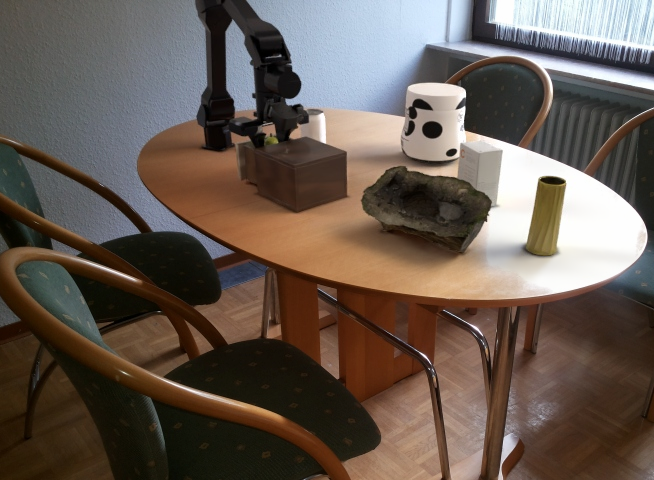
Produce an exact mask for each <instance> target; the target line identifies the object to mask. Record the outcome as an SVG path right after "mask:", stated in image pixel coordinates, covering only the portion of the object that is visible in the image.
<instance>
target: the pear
mask: <svg viewBox="0 0 654 480" xmlns="http://www.w3.org/2000/svg"><path fill="white" fill-rule="evenodd" d="M269 135H270V137H268V138H267V139H266V140H265V143H264V144H265V146H267V145H271V144H276V143H279V142H278V140H277V139H276V138H275V137H272V135H273V133H272V132H270V133H269Z"/></svg>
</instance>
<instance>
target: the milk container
mask: <svg viewBox="0 0 654 480" xmlns="http://www.w3.org/2000/svg"><path fill="white" fill-rule="evenodd" d="M466 97H467V93H466V89H465V88H463V87H461V86H459V85H455V84H450V83H442V82H419V83H413V84H411V85H409V86H408V87H407V89H406V95H405V107H404V124H403V127H402V130H401V133H400V148H401V151H402V153H403V154H404V155H405V156H406V157H407V158H409V159H411V160H413V161H417V162H420V163H427V164H444V163H445V164H446V163H450V162H453V161H456V160H459V153H460V143H461V142H467V140H466V139H467V138H466V131H465V121H464V120H465V114H466V102H467V100H466V99H467V98H466Z"/></svg>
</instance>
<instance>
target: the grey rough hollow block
mask: <svg viewBox="0 0 654 480" xmlns="http://www.w3.org/2000/svg"><path fill="white" fill-rule="evenodd" d="M362 193H363V195H362V196H361V198H360V203H361V206H362V210H363V211H364V213H365V214H366V215H367V216H370V217H372V218H374V219H375V220H376V221H378V222H379V223H380V224H381V227H382V231H391V230H395V231H396V230H399V231H402V232H404V234H407V235H408V234H411V235H414V236H417V237H422V238H423V239H425V240H426V241H427V242H431V243H432V244H435V245H439V246H441V247H442V248H446V249H448V250H450V251H454V252H460V253H462V254H464V253H465V252H466V250H467V249H468V248H469V246H470V245H471V244H472V243H473V241H474V240H475V239H476V238H477V237H478V235H479V233H480V232H481V230H482V228H483V227H484V224H485V223H487V222H488V217H490V214H489V212H490V211H491V208H492V206H491V204H492V201H491V200H490V198H489V197H488V195H485V193H484V192H481V191H477V190H476V189H475V188H474V187H473V186H472V185H471V184H470V183H469V182H467V181H465V180H460V179H458V178H457V177H455V176H449V175H430V174H427V173H424V172H421V171H417V170H409V169H408V167H407V166H406V165H397V166H392V167H390V168H387V169H385V171H384V173H383V174H381V175H380V177H378V179H377V180H376V181H375V182H374V183H372V185H370V186H369V185H368V186H367V187H365V189H364V190H362Z"/></svg>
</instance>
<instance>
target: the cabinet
mask: <svg viewBox="0 0 654 480" xmlns="http://www.w3.org/2000/svg"><path fill="white" fill-rule="evenodd" d="M292 139H293V140H289V141H284V142H280V143H276V144H271V145H267V146H263V147H258V148H254V153H255V166H256V178H257V185H256V189H257V194H258V195H260V196H262V197H264V198H265V199H268V200H270V201H271V202H274V203H276V204H278V205H280V206H282V207H284V208H286V209H289V210H291V211H292V212H295V213H299V212H302V211H306V210H309V209H312V208H315V207H318V206H321V205H324V204H325V205H326V204H327V203H330V202H331V203H332V202H334V201H338V200H341V199H343V198H346V197H348V151H346V150H344V149H342V148H338V147H336V146H334V145H331V144H327V143H326V144H325V143H322V142H320V141H317V140H314V139H312V138H309V137H302V138H301V137H298V138H292Z"/></svg>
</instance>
